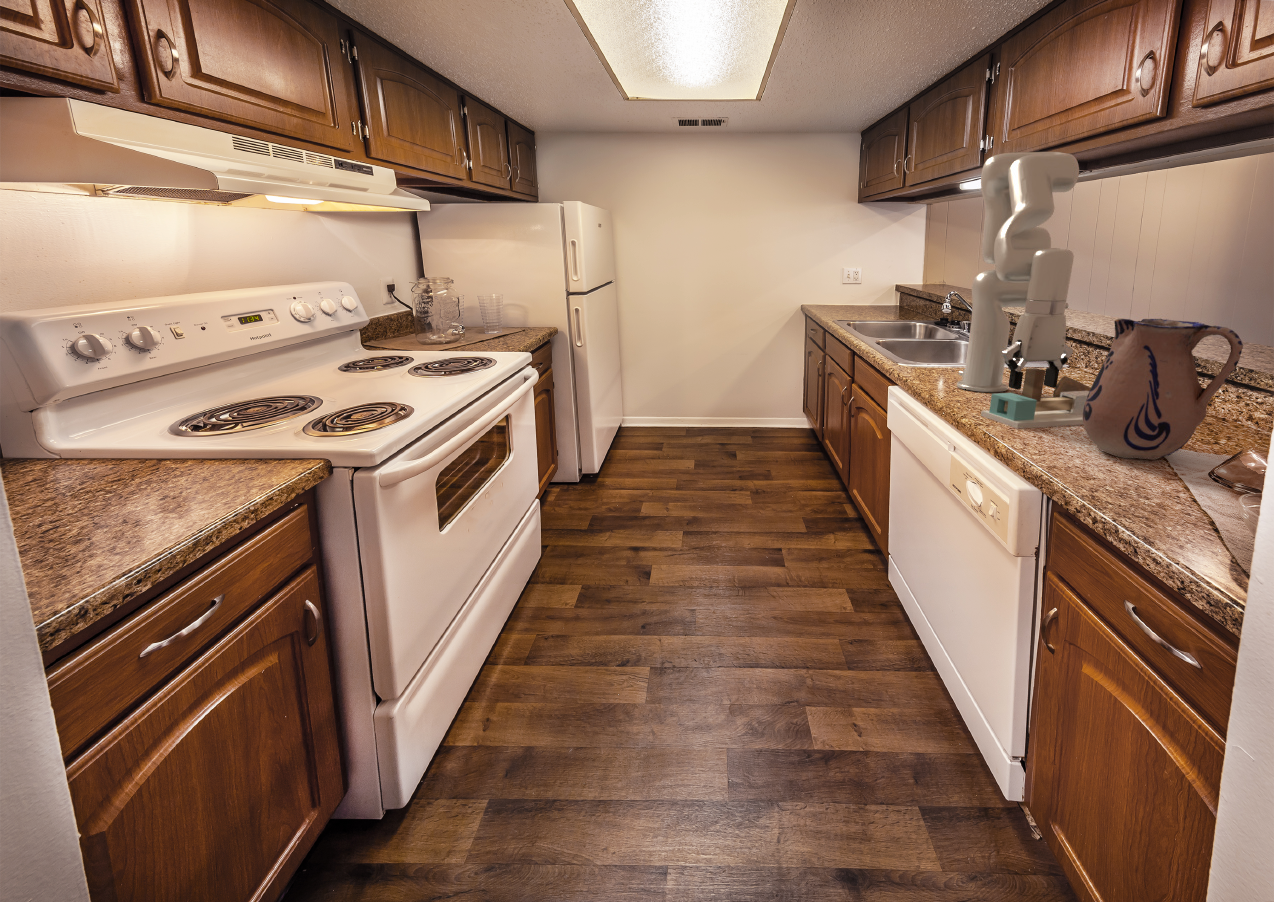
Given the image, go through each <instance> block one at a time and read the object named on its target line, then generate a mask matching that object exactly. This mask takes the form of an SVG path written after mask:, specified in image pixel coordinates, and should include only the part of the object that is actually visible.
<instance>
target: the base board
mask: <svg viewBox="0 0 1274 902" xmlns="http://www.w3.org/2000/svg"><path fill="white" fill-rule="evenodd" d="M989 410H990V409H989ZM989 410H987V409H985V410H981V411H980V416H981V417H983V418H986V419H989V420H991V421H995V422H997V423H1000V424H1004V425H1005V426H1006V425H1007V426H1008V427H1012V428H1014V429H1035V428H1048V427H1065V426H1067V427H1068V426H1080V425H1083V426H1084V424H1083V415H1070V414H1067V413H1064V412H1060V411H1041V412H1035V415H1034V420H1020V421H1012V420H1010V419H1007V418H1004V417H1001V416H998V415H995V414H992V413H989Z"/></svg>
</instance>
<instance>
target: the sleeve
mask: <svg viewBox="0 0 1274 902" xmlns="http://www.w3.org/2000/svg"><path fill="white" fill-rule="evenodd" d="M1088 393H1089V391H1073V392H1061V394H1060V397H1071V398H1073V403H1072V408H1071V410H1058V411H1060V412H1064V413H1067V414H1070V415H1083V410H1084V405H1085V402H1086V399H1087V396H1088Z"/></svg>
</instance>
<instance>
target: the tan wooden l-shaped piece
mask: <svg viewBox="0 0 1274 902" xmlns="http://www.w3.org/2000/svg"><path fill="white" fill-rule="evenodd" d="M1045 372H1046V369H1042V368H1037V367H1034V368H1033V367H1029V368H1025V373H1024V380H1023V386H1022V392H1021V396H1024V397H1028V398H1031V399H1035V400H1037V402H1036V408H1035V412H1041V411H1058V410H1071V408H1072V403H1073V398H1071V397H1059V398H1053V397H1043V398H1042V393H1043V388H1044V378H1045ZM1007 409H1008V401H1005V406H1004V411H1006V412H1007Z"/></svg>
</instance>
